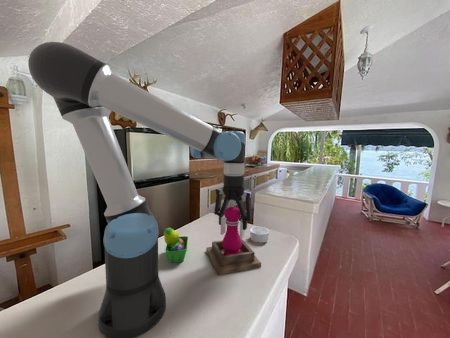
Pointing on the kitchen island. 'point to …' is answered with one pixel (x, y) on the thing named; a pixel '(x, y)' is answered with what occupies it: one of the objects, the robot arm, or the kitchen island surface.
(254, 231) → the ramekin
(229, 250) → the pepper mill
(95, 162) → the robot arm
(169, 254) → the fruit basket
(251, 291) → the kitchen island surface
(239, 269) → the walnut stand
